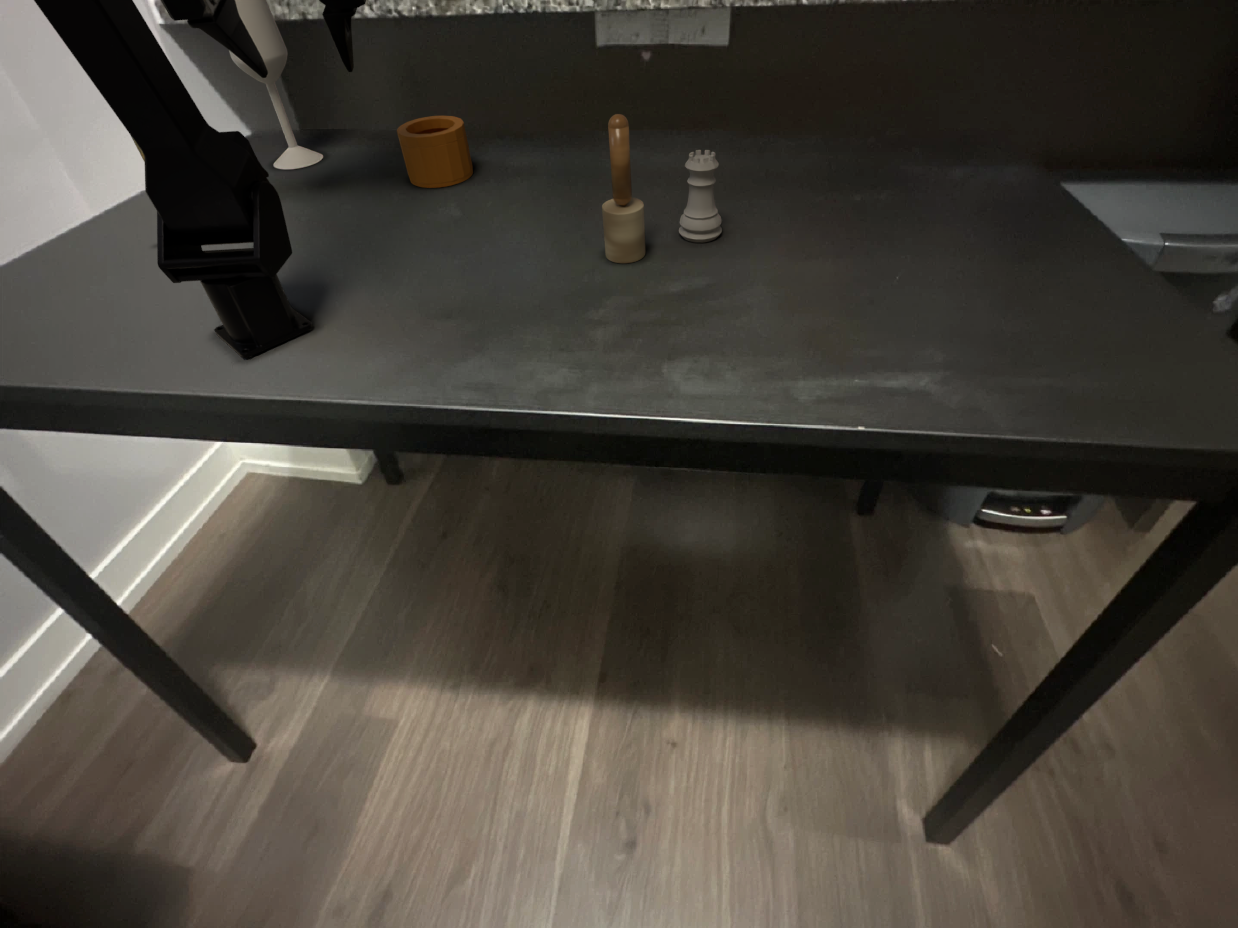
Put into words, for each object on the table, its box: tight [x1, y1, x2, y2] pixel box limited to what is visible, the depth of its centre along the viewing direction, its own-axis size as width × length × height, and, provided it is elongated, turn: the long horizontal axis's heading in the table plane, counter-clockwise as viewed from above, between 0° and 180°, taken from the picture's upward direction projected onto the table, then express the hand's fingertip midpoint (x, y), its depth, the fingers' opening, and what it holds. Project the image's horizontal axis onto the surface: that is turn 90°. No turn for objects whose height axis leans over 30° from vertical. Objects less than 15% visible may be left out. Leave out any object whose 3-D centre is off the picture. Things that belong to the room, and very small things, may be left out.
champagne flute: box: [228, 0, 324, 170], centre depth 87 cm, size 7×7×24 cm
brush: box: [601, 113, 646, 264], centre depth 64 cm, size 4×4×13 cm
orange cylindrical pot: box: [396, 115, 474, 189], centre depth 85 cm, size 8×8×6 cm
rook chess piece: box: [678, 149, 723, 243], centre depth 68 cm, size 4×4×8 cm
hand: (308, 72), depth 72 cm, fingers open, 9 cm apart
